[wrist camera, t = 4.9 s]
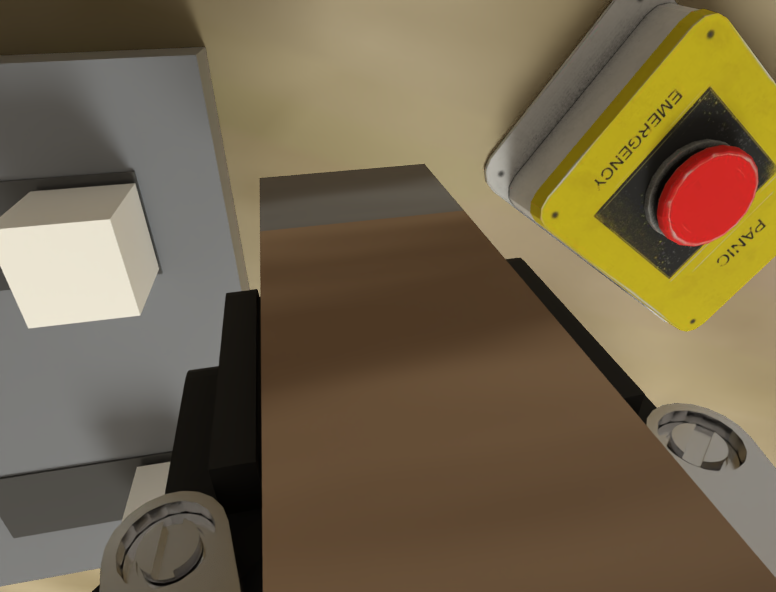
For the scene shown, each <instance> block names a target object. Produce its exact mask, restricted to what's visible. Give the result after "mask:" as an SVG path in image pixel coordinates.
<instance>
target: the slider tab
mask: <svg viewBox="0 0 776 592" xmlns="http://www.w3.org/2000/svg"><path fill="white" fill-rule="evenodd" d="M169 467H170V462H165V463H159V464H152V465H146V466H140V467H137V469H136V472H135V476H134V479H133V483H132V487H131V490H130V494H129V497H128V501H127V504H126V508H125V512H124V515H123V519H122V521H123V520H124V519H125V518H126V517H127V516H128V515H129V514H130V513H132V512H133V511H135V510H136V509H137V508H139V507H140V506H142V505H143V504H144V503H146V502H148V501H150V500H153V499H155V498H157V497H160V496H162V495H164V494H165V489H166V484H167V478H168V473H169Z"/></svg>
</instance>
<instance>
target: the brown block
mask: <svg viewBox="0 0 776 592" xmlns="http://www.w3.org/2000/svg"><path fill="white" fill-rule="evenodd" d="M260 276H261V416H262V555H263V592H776V577H775V576H774V575H773V574H772V573H771V572H770V570H769V569H768V568H767V567H766V566H765V564H764V563H763V562H762V561H761V560H760V559H759V557H758V556H757V555H756V554H755V553H754V552H753V550H752V549H751V548H750V547H749V546H748V544H747V543H746V542H745V541H744V540H743V539H742V537H741V536H740V535H739V534H738V533H737V532H736V530H735V529H734V528H733V527H732V526H731V524H730V523H729V522H728V521H727V520H726V519H725V517H724V516H723V515H722V514H721V513H720V511H719V510H718V509H717V508H716V507H715V506H714V504H713V503H712V502H711V501H710V500H709V499H708V497H707V496H706V495H705V494H704V493H703V491H702V490H701V489H700V488H699V487H698V486H697V484H696V483H695V482H694V481H693V480H692V479H691V477H690V476H689V475H688V474H687V473H686V471H685V470H684V469H683V468H682V467H681V466H680V464H679V463H678V462H677V461H676V460H675V459H674V457H673V456H672V455H671V454H670V453H669V451H668V450H667V449H666V448H665V447H664V446H663V444H662V443H661V442H660V441H659V440H658V439H657V437H656V436H655V435H654V434H653V433H652V431H651V430H650V429H649V428H648V427H647V426H646V424H645V423H644V422H643V421H642V420H641V418H640V417H639V416H638V415H637V414H636V413H635V411H634V410H633V409H632V408H631V407H630V406H629V404H628V403H627V402H626V401H625V400H624V398H623V397H622V396H621V395H620V394H619V393H618V391H617V390H616V389H615V388H614V387H613V386H612V384H611V383H610V382H609V381H608V380H607V378H606V377H605V376H604V375H603V374H602V373H601V371H600V370H599V369H598V368H597V367H596V366H595V364H594V363H593V362H592V361H591V360H590V358H589V357H588V356H587V355H586V354H585V353H584V351H583V350H582V349H581V348H580V347H579V345H578V344H577V343H576V342H575V341H574V340H573V338H572V337H571V336H570V335H569V334H568V333H567V331H566V330H565V329H564V328H563V327H562V325H561V324H560V323H559V322H558V321H557V320H556V318H555V317H554V316H553V315H552V314H551V313H550V311H549V310H548V309H547V308H546V307H545V305H544V304H543V303H542V302H541V301H540V300H539V298H538V297H537V296H536V295H535V294H534V293H533V291H532V290H531V289H530V288H529V287H528V285H527V284H526V283H525V282H524V281H523V280H522V278H521V277H520V276H519V275H518V274H517V273H516V271H515V270H514V269H513V268H512V267H511V265H510V264H509V263H508V262H507V261H506V260H505V258H504V257H503V256H502V255H501V254H500V252H499V251H498V250H497V249H496V248H495V247H494V245H493V244H492V243H491V242H490V241H489V240H488V238H487V237H486V236H485V235H484V234H483V232H482V231H481V230H480V229H479V228H478V227H477V225H476V224H475V223H474V222H473V221H472V220H471V218H470V217H469V216H468V215H467V214H466V212H465V211H464V210H463V209H462V208H461V207H460V205H459V204H458V203H457V202H456V201H455V200H454V198H453V197H452V196H451V195H450V194H449V192H448V191H447V190H446V189H445V188H444V187H443V185H442V184H441V183H440V182H439V181H438V180H437V178H436V177H435V176H434V175H433V174H432V172H431V171H430V170H429V169H428V168H427V167H426V165H425V164H418V165H407V166H395V167H384V168H372V169H360V170H349V171H337V172H326V173H314V174H302V175H291V176H279V177H267V178H260Z"/></svg>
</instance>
